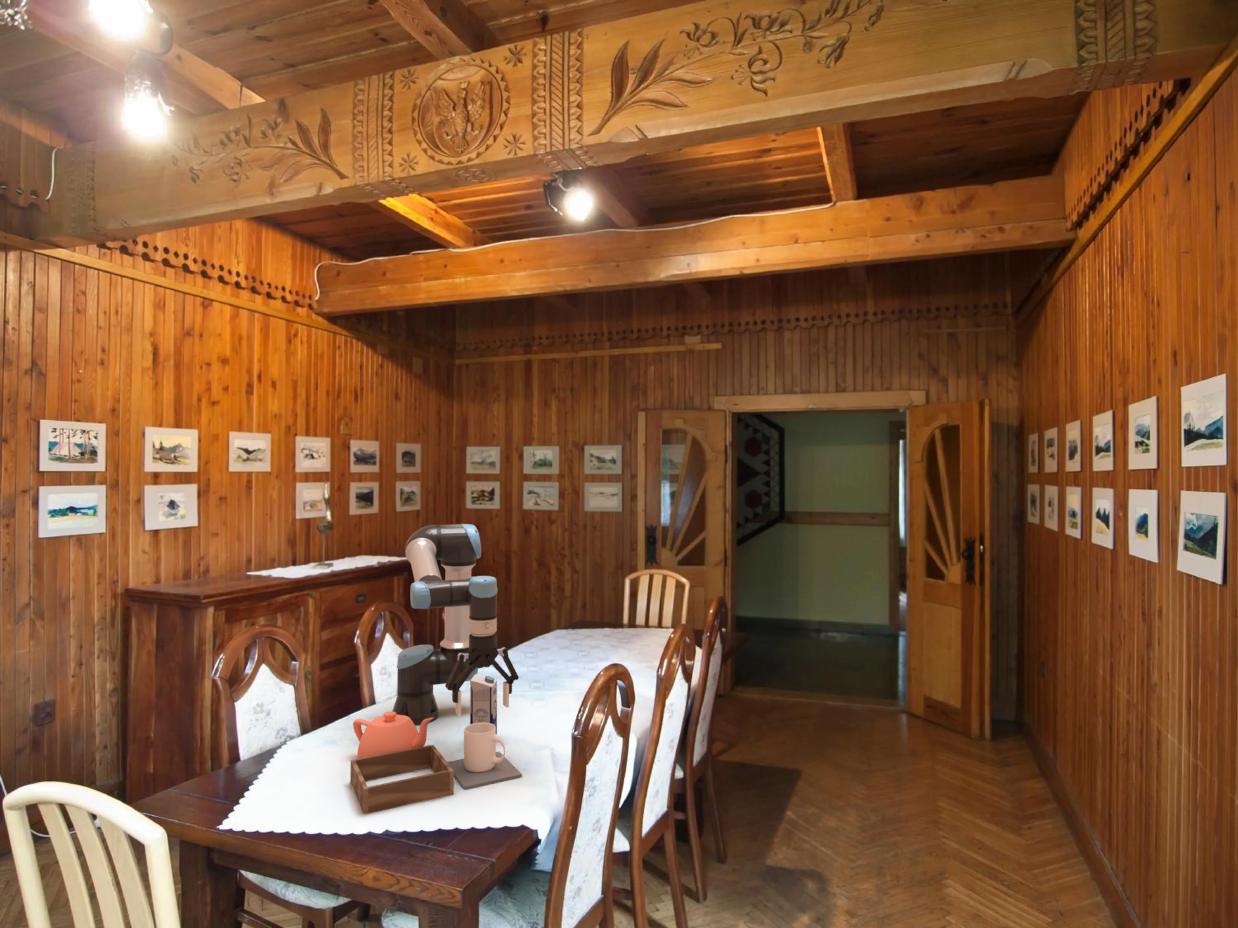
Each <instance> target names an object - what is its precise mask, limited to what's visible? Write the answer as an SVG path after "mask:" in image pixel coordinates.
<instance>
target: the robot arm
mask: <svg viewBox="0 0 1238 928" xmlns="http://www.w3.org/2000/svg"><path fill="white" fill-rule="evenodd" d="M407 539H408V540H407V541H406V543H405V547H404V553H405V557H406V560H407V561H408V562H409V563H410V565H411V570H412V574H413V579H414V582H413V583H411V584H410V588H409V589H410V591H409V592H410V598H409V599H410V606H411V608H412V609H416V610H417V609H421V610H427V609H435V608H437V609H438V608H444V638H443V640H441V641H440V643H439V648H436V649H435V648H434V646H433V644H418V645H413V646H410V647H407V648H405V649H403V650H401V651H400V652H399V653H398V655H397V664H396V669H397V672H396V673H397V685H396V690H397V691H396V693H397V695H396V699H395V702H394V705H393V708H392V710H391V712H396V715H404V716H408V717H409V718H410V719H411V720H412V721H413V723H414V725H415V726H418V725H421V723H422V721H423V720H425V719H427V718H432V717H434V718H433V719H432V720H431V721H430V722H429V723H431V722H434V721H435V720H437V718H439V715H440V714H439V707H438V704H437V700H436V697H435V695H434V686H435V685H436V686H437V685H444V686H445V688H446V689H447V690H448V691H451V697H452V698H451V699H452V703H454V704H455V714H456V715H457V716H458V717H459V716H462V690H461V687H462V686H463V685H464V683H465V682H470V680H471V679H472V678H473V676H474V675H475V674H477V675H478V672H479V669H482V668H483V669H484V668H490V666H492V667H493V668H494V669H495V670H496V672H498V673H499V674H500V675H501V677H503V679H504V680H505V681H502V706H503V707H505V708H509V707H510V695H512V693H513V684H514V682H515V681H518V680H519V678H520V677H519V674H518V673H517V671H516V669H515V666H514V665H513V663H512V661H511V659H510V657H509V650H508V649H507V648H506V647H504V646H502V647H500V648H498V647H497V643H498V641H497V640H498V638H497V637H498V636H497V635H498V634H497V630H498V629H497V626H498V621H497V619H498V617H497V613H498V612H497V609H498V608H497V607H498V603H497V602H498V585H497V584H498V583H497V578H496V577H494V576H490V575H477V576H472V569H473V568H474V567H475V566H476V564H477V560H479V559H480V558H481V556H482V544H481V537H480V533H479V530H478V529H477V527H476V525H474V524H469V523H453V524H451V523H450V524H429V525H426V526H423V527H421V528H418V529H417V530H416V531H414V532H413V533H412V534H411V535H410V536H409V538H407ZM437 560H439V561H440V565H441V566H442V567H443V568H444V569H445V579H444V580H443V579H442V574H441V571H440V569H439V566H438V565H439V564H438V562H437ZM497 648H498V649H497ZM498 655H499V656H500V657H501V659H502V660H503V663H504V664H505V666H506V668H507V671H509V674H510V675H509V674H508V673H507V672H506V671H505V670H504V669H503V667H501V665H500V664H499V663H498V662H497V661H496V658H497V657H498Z"/></svg>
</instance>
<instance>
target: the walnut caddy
mask: <svg viewBox="0 0 1238 928" xmlns="http://www.w3.org/2000/svg"><path fill="white" fill-rule="evenodd" d="M447 762H448V761H447V760H446V758H445V757H444V756H443V754H441V752H440V751H439V750H438V748H437V747H436V746H435V745H434V744H430V745H424V746H423V747H418V748H412V749H407V750H402V751H396V752H391V753H385V754H380V755H375V756H369V757H364V758H359V759H358V758H354V759H351V760H350V774H349V775H350V783H349V784H350V785H351V787H352V790H353V792H354V794H355V797H356V799H357V801H358V803H359V806H360V808H361V809H360V810H361V811H362V813H363V815H367V814H370V813H375V812H381V811H385V810H389V809H393V808H398V807H402V806H407V805H412V804H416V803H421V802H425V801H429V800H433V799H437V798H443V797H447V796H451V795H454V793H455V778H454V770H453V769H452V768H451V766H450V765H449V764H448V763H447ZM428 769H430V770H431V771H432V772H433V773H428V774H422V775H418V776H414V777H408V778H404V779H399V780H394V781H389V782H384V783H380V784H375V785H374V784H373V785H367V783H366V782H368V781H374V780H378V779H379V780H380V779H383V778H389V777H393V776H398V775H403V774H408V773H412V772H413V773H415V772H417V771H423V770H428Z"/></svg>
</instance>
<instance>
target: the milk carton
mask: <svg viewBox="0 0 1238 928" xmlns="http://www.w3.org/2000/svg"><path fill="white" fill-rule="evenodd" d="M469 687H470V688H469V691H470V693H469V700H470V701H469V703H470V704H469V715H470V716H469V725H470V724H474V723H491V724H493V725H495V726H496V735H498V679H495V678H494V677H492V676H489V675H488V676H487V675H486V676H485V675H482V674H478V673H477V674H475V675H474V676H473V678H472V679H471V680H470V681H469Z"/></svg>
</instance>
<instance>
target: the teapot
mask: <svg viewBox="0 0 1238 928" xmlns="http://www.w3.org/2000/svg"><path fill="white" fill-rule="evenodd" d="M433 718H434V717H432V718H427V719H425V720H423V721H422V723H421V724H419V725H420V726H419V730H418V728H417V725H414V723H413V721H412V720H411V719H410V718H409V717H408V716H404V715H396V712H392V711H386V712H384V713H383V715H380V716H378V717H375V718H373V719H372V720H371V721H370V720H367V719H363V718H356V719H354V720H353V723H352V727H353V731H354V734H355V736H356V738H357V740H358V742H359V743H358V747H357V752H356V753H357V759H359V758H364V757H369V756H375V755H380V754H385V753H391V752H396V751H402V750H407V749H412V748H418V747H423V746H426V742H427V735H428V734H427V731H428V730H427V729H428V725H429V723H431V722H432V721H431V720H432V719H433ZM430 721H431V722H430ZM362 726H365V727H366V728H365V729H364V732H363V730H362Z"/></svg>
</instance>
